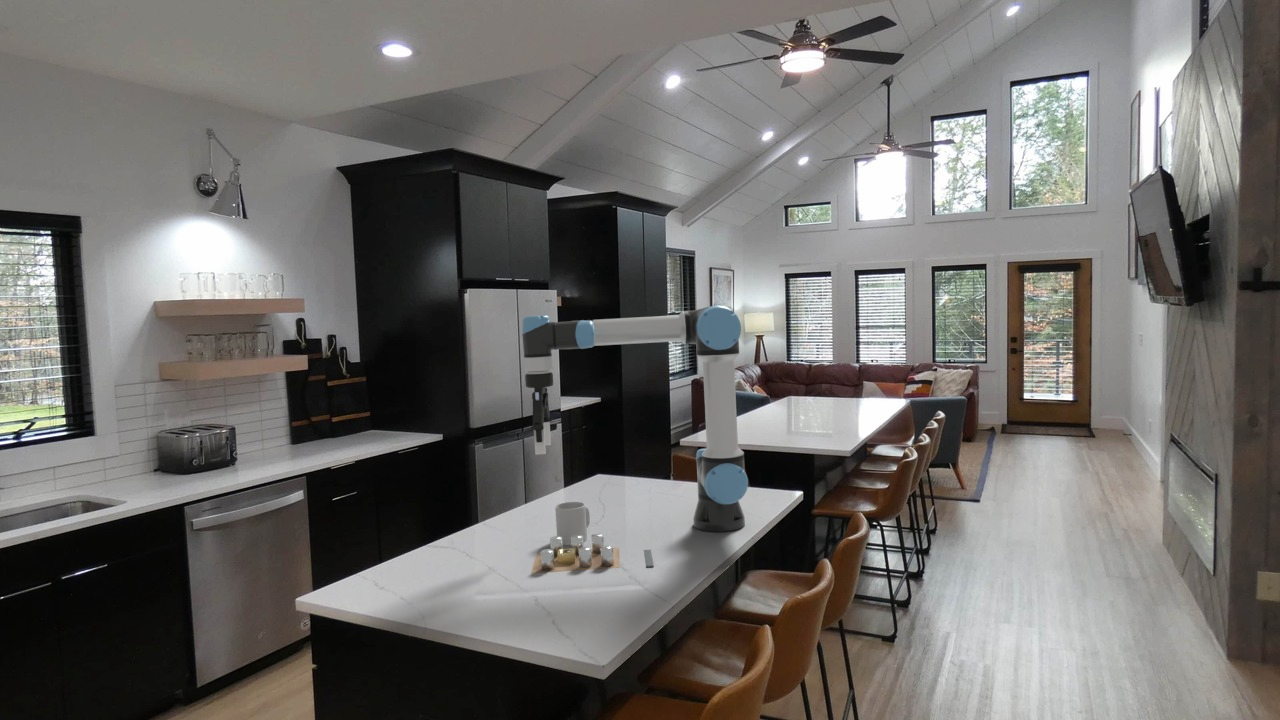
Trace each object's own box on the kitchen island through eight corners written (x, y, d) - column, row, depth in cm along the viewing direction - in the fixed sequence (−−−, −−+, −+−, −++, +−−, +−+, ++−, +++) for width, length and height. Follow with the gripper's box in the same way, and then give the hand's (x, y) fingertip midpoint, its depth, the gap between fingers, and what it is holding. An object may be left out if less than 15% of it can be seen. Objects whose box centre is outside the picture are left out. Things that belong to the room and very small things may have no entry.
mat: (650, 550, 202) (650, 549, 202) (653, 567, 189) (653, 565, 189) (621, 552, 202) (620, 551, 202) (621, 569, 189) (621, 567, 189)
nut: (576, 557, 197) (575, 547, 197) (575, 563, 192) (574, 553, 192) (559, 558, 197) (558, 549, 196) (558, 564, 192) (557, 554, 192)
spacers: (613, 549, 202) (612, 532, 202) (614, 566, 188) (613, 548, 188) (545, 553, 202) (544, 536, 201) (541, 571, 187) (540, 553, 187)
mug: (574, 550, 206) (572, 510, 206) (551, 546, 211) (548, 507, 211) (601, 538, 216) (599, 500, 216) (578, 534, 221) (575, 497, 220)
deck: (619, 551, 203) (618, 547, 203) (619, 571, 187) (619, 567, 187) (537, 556, 202) (537, 552, 202) (531, 577, 186) (531, 573, 186)
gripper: (530, 369, 218) (535, 442, 219) (518, 376, 193) (523, 458, 194) (556, 368, 218) (561, 441, 219) (547, 375, 193) (552, 457, 194)
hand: (543, 449), depth 206 cm, fingers open, 13 cm apart
